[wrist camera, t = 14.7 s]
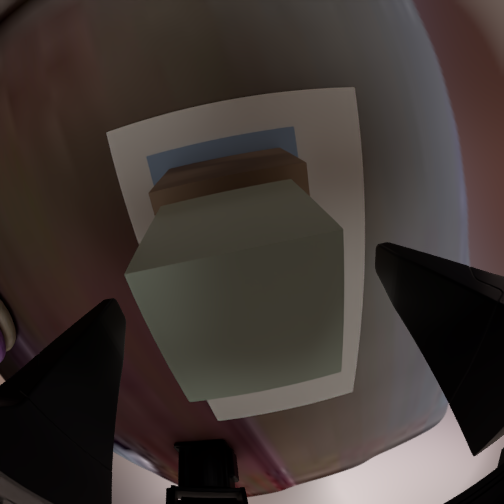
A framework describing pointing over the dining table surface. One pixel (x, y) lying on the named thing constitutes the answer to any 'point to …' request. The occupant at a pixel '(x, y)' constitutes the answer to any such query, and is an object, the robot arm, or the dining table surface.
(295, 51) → the dining table surface
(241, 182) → the walnut block
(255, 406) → the build board
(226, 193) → the sage block
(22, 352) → the dining table surface
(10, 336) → the stacking toy
